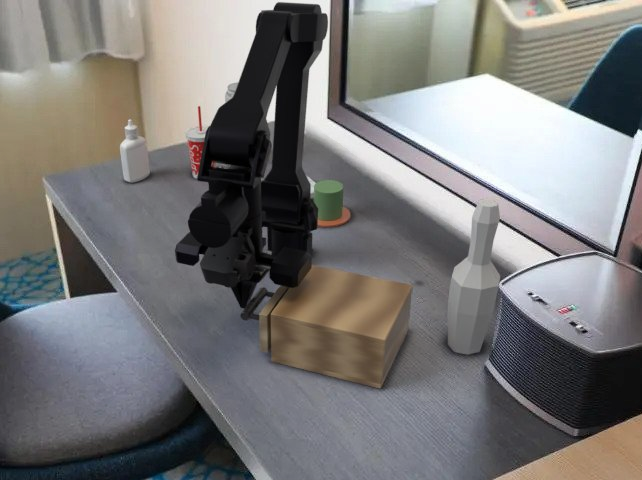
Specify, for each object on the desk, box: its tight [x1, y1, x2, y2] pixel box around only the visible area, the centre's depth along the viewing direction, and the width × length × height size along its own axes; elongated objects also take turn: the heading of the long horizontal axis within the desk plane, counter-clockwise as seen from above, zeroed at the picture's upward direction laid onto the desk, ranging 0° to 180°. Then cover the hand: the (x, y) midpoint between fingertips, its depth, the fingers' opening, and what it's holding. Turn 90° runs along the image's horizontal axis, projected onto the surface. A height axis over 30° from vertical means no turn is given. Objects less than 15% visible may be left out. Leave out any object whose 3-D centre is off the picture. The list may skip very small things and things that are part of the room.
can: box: [313, 179, 344, 221], centre depth 139 cm, size 5×5×6 cm
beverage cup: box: [184, 105, 216, 180], centre depth 153 cm, size 6×6×14 cm
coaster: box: [318, 206, 352, 228], centre depth 141 cm, size 9×9×1 cm
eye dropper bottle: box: [119, 119, 151, 184], centre depth 154 cm, size 4×6×12 cm
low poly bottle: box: [447, 197, 501, 356], centre depth 103 cm, size 6×6×22 cm
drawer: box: [239, 285, 290, 353], centre depth 109 cm, size 19×12×6 cm, turn 65°
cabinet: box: [270, 264, 414, 389], centre depth 108 cm, size 16×14×8 cm
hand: (244, 307), depth 114 cm, fingers closed
